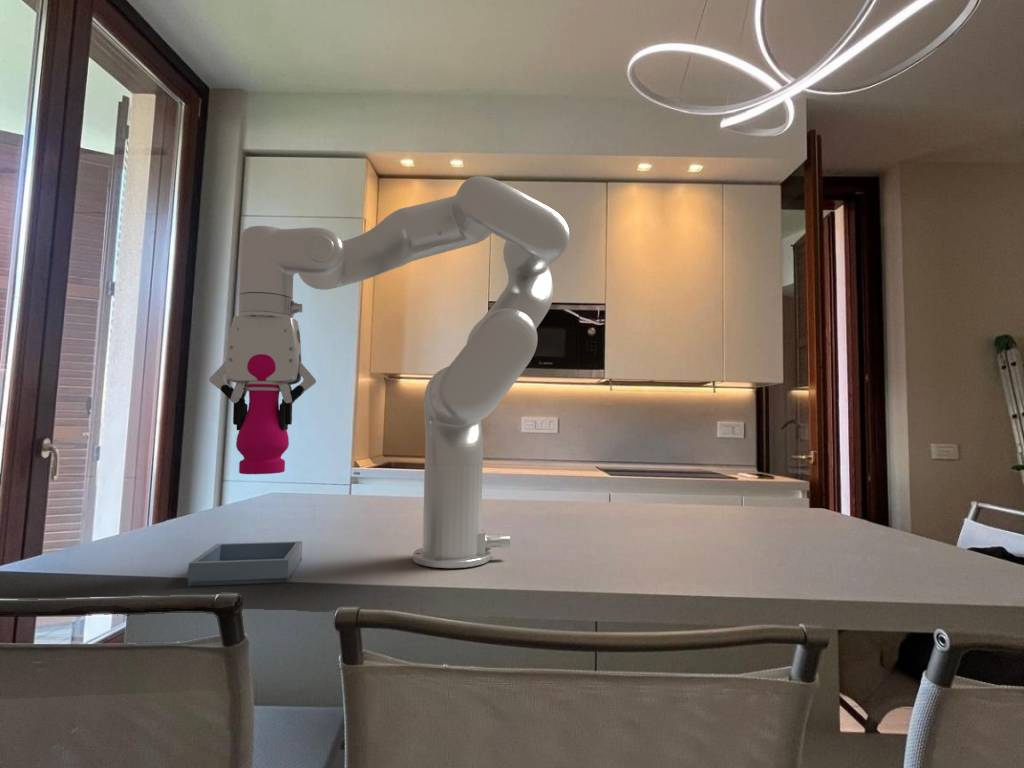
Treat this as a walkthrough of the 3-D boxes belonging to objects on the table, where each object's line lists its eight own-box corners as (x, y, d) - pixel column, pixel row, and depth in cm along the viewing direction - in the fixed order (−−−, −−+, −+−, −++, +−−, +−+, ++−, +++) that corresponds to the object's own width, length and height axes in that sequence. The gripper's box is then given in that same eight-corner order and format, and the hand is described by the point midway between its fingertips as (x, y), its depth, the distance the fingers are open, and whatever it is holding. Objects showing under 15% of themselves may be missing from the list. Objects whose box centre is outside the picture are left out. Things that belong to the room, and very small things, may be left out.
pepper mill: (297, 470, 87) (299, 342, 89) (272, 474, 80) (276, 335, 81) (252, 470, 88) (256, 343, 89) (224, 474, 81) (228, 336, 82)
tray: (301, 560, 90) (302, 541, 90) (287, 582, 78) (288, 559, 78) (216, 563, 88) (217, 543, 88) (187, 586, 75) (188, 563, 76)
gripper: (327, 316, 91) (325, 429, 90) (212, 312, 88) (208, 430, 86) (321, 307, 84) (319, 430, 83) (195, 302, 80) (191, 430, 79)
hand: (262, 428), depth 85 cm, fingers closed on pepper mill, 5 cm apart
